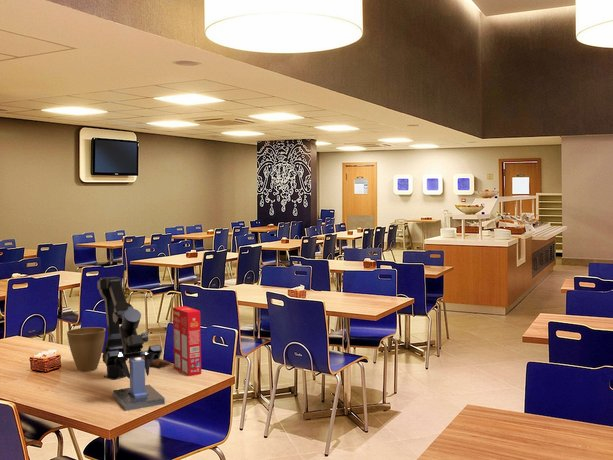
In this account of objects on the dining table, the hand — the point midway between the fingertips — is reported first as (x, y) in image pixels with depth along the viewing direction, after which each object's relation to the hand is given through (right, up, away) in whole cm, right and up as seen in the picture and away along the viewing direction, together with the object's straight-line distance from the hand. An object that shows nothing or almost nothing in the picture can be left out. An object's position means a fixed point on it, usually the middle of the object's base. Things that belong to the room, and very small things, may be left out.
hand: (138, 376), depth 218 cm
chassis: (-1, -9, +2) cm, 9 cm away
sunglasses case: (-8, -7, +50) cm, 51 cm away
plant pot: (-32, -7, +42) cm, 53 cm away
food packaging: (+10, -7, +38) cm, 39 cm away
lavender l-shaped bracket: (-1, -9, +2) cm, 9 cm away
